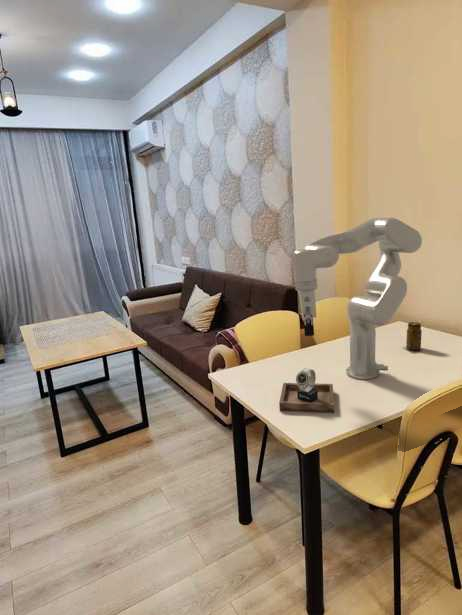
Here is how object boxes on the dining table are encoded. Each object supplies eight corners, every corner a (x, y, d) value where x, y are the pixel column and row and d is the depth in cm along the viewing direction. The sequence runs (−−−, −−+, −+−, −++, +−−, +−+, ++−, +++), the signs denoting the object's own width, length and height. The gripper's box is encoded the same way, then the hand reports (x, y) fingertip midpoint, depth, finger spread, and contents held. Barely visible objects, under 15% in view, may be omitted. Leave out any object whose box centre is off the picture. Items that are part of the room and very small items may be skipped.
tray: (332, 391, 150) (332, 383, 149) (334, 413, 135) (334, 404, 134) (283, 390, 154) (283, 382, 153) (279, 411, 139) (279, 402, 138)
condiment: (415, 345, 189) (416, 320, 186) (427, 351, 181) (429, 325, 178) (401, 347, 188) (402, 322, 185) (413, 353, 180) (414, 327, 177)
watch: (294, 400, 143) (293, 371, 141) (307, 392, 149) (306, 364, 146) (307, 405, 139) (306, 375, 137) (320, 396, 145) (320, 367, 142)
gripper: (318, 289, 134) (320, 338, 138) (316, 278, 150) (318, 322, 155) (294, 291, 135) (298, 339, 140) (295, 280, 152) (298, 324, 156)
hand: (309, 330), depth 147 cm, fingers open, 9 cm apart
